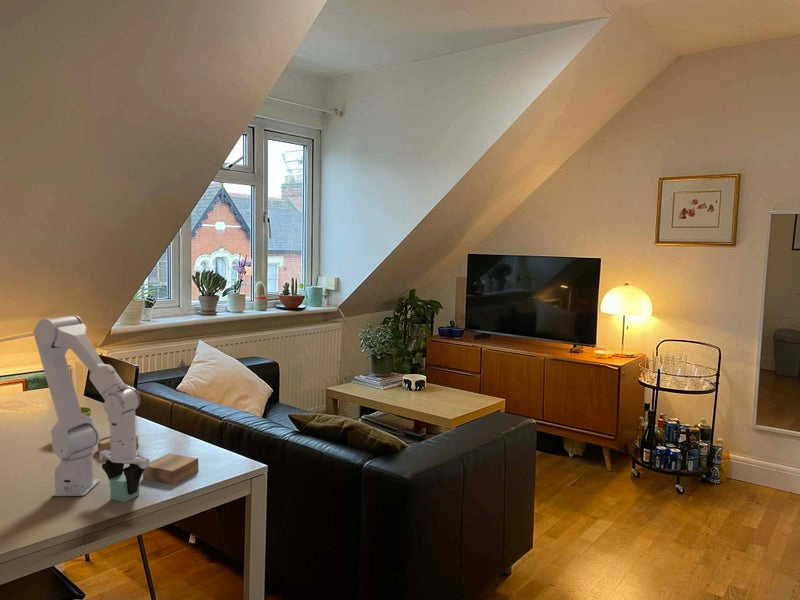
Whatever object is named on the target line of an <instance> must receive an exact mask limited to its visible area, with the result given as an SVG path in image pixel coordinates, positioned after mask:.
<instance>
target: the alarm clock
mask: <svg viewBox="0 0 800 600" xmlns="http://www.w3.org/2000/svg"><path fill="white" fill-rule="evenodd" d="M139 446H140V444H139V436H138V435H137V434H136V450H137V451H139V450H138V449H139ZM104 450H110V451H111V442H110V435H108V436H105V437H102V438H99V441H98V443H97V453H98V454H99V452H101V451H104Z"/></svg>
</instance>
